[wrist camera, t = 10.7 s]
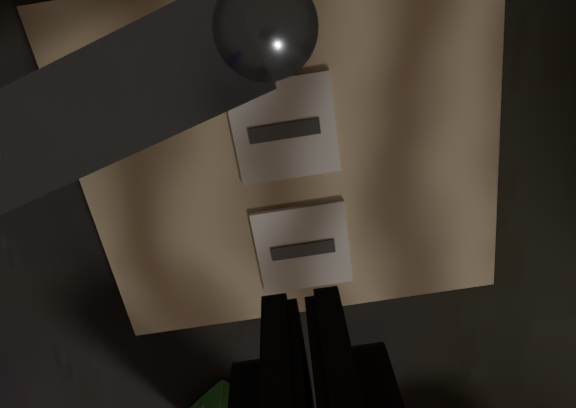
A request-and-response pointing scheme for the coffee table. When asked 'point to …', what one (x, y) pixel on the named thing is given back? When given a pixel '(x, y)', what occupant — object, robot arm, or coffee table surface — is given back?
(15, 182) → the swing bar
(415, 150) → the label board
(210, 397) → the ink box
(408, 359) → the coffee table surface
